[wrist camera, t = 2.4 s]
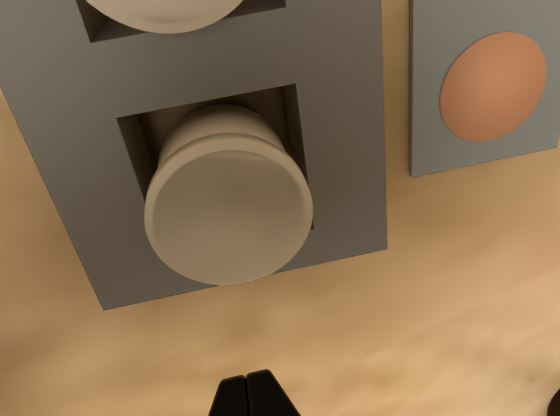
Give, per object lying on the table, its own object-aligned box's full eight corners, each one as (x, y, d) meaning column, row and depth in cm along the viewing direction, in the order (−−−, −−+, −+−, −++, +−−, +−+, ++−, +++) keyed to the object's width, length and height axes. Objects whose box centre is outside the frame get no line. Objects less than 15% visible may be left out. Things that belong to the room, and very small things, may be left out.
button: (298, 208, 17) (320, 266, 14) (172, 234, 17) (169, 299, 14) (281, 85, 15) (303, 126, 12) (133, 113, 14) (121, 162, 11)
